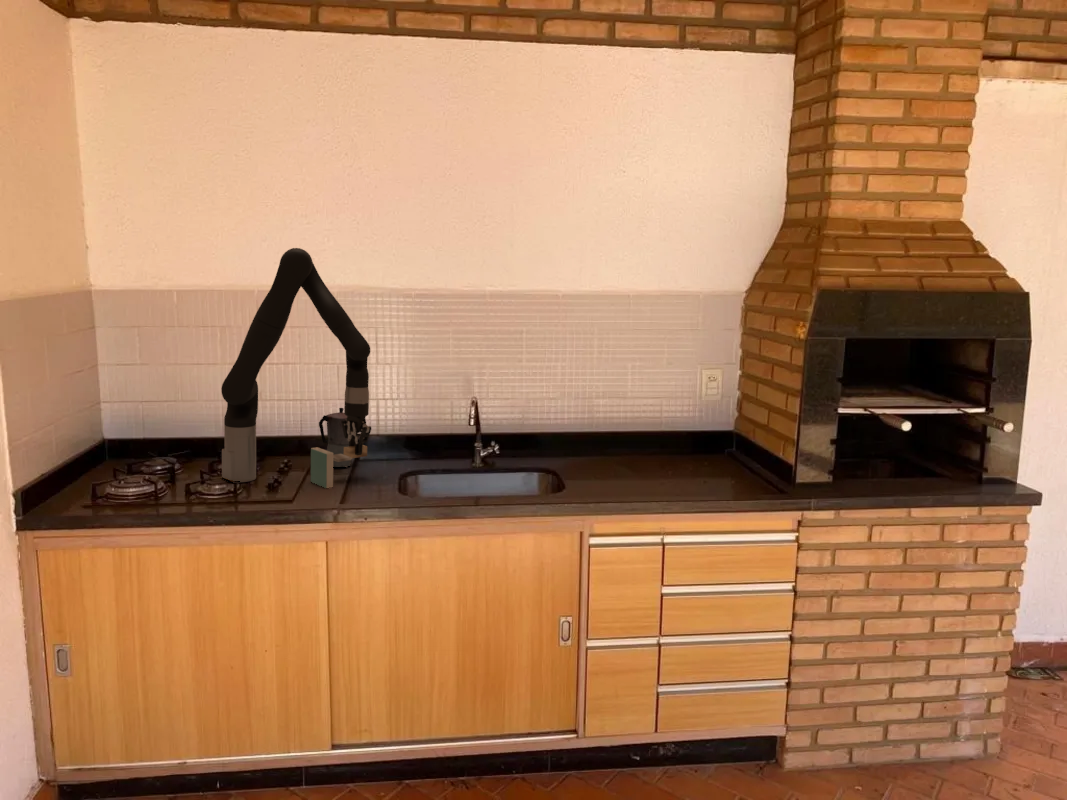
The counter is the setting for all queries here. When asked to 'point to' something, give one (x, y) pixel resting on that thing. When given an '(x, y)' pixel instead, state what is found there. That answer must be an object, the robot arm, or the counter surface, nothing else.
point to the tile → (322, 467)
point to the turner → (349, 454)
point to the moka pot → (335, 435)
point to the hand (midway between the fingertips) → (355, 453)
